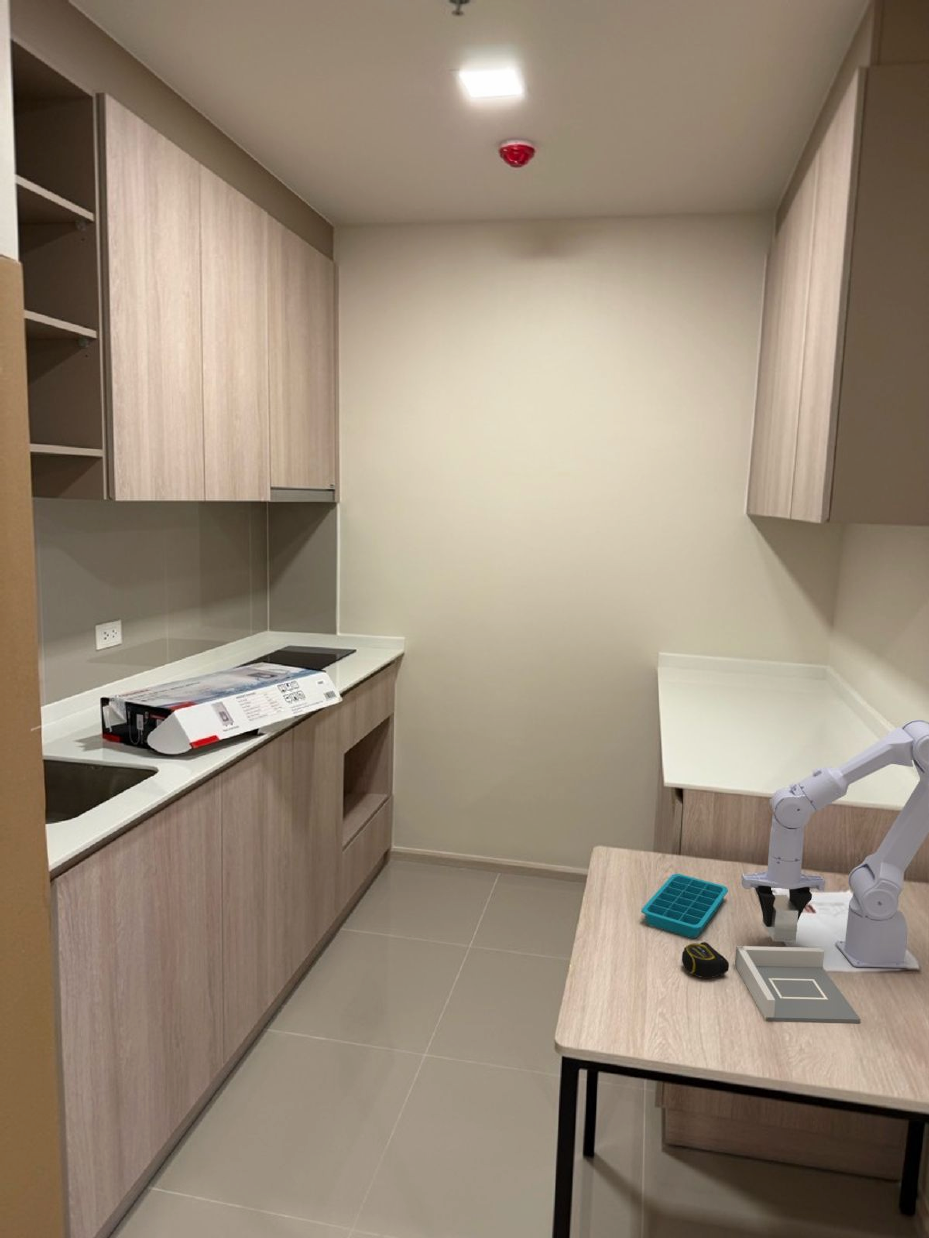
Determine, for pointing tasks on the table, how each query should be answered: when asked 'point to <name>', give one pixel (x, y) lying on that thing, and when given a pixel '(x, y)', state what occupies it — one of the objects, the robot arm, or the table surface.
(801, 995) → the tray
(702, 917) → the ice cube tray
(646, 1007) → the table surface
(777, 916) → the aluminium block
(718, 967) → the tape measure
